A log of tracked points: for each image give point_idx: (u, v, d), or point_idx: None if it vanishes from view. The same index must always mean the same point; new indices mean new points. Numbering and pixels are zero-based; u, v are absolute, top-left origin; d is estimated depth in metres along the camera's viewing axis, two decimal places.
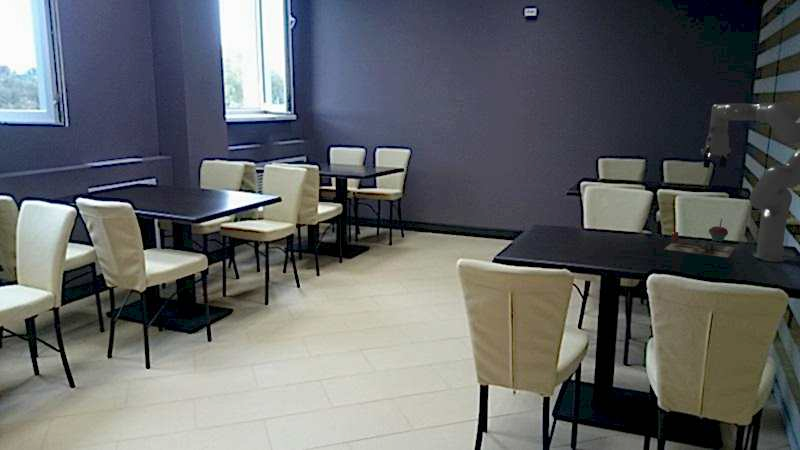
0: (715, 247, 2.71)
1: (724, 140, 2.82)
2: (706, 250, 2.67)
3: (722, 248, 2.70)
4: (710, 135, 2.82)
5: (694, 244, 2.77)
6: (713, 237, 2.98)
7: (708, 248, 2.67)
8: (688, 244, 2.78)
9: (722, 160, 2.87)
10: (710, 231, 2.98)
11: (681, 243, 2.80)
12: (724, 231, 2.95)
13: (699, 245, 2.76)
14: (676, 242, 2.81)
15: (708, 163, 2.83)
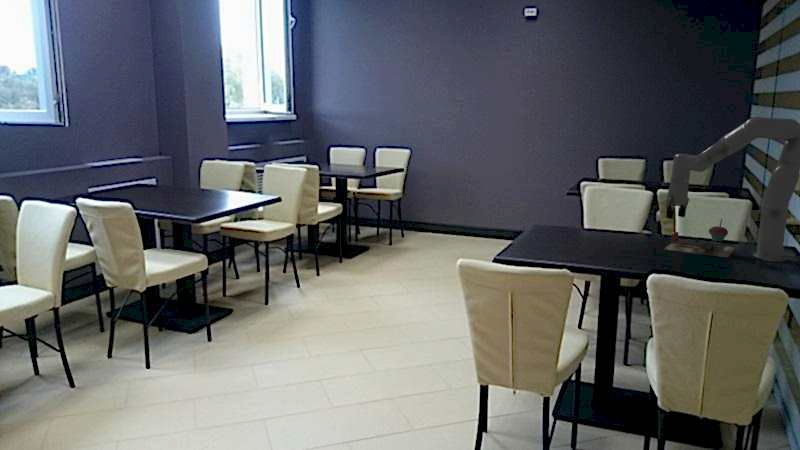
0: (715, 247, 2.71)
1: None
2: (706, 250, 2.67)
3: (722, 248, 2.70)
4: None
5: (694, 244, 2.77)
6: (713, 237, 2.98)
7: (708, 248, 2.67)
8: (688, 244, 2.78)
9: None
10: (710, 231, 2.98)
11: (681, 243, 2.80)
12: (724, 231, 2.95)
13: (699, 245, 2.76)
14: (676, 242, 2.81)
15: None
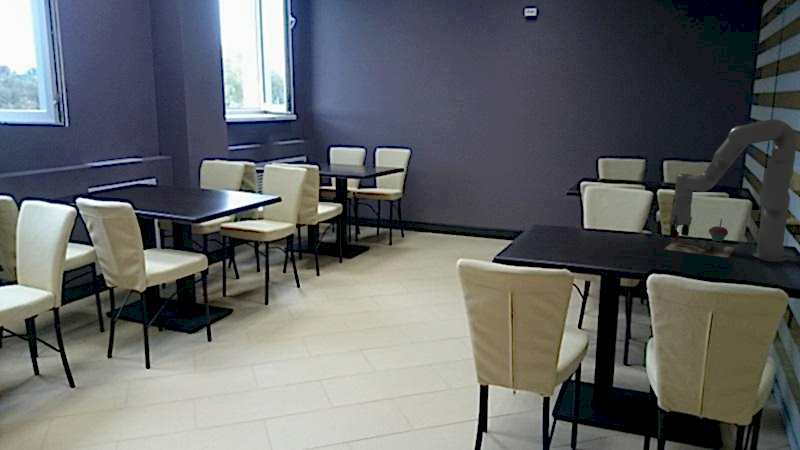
0: (715, 247, 2.71)
1: None
2: (706, 250, 2.67)
3: (721, 248, 2.69)
4: None
5: (694, 244, 2.77)
6: (713, 237, 2.98)
7: (708, 248, 2.67)
8: (688, 244, 2.79)
9: None
10: (710, 231, 2.98)
11: (681, 243, 2.81)
12: (724, 231, 2.95)
13: (699, 245, 2.76)
14: (676, 242, 2.82)
15: None
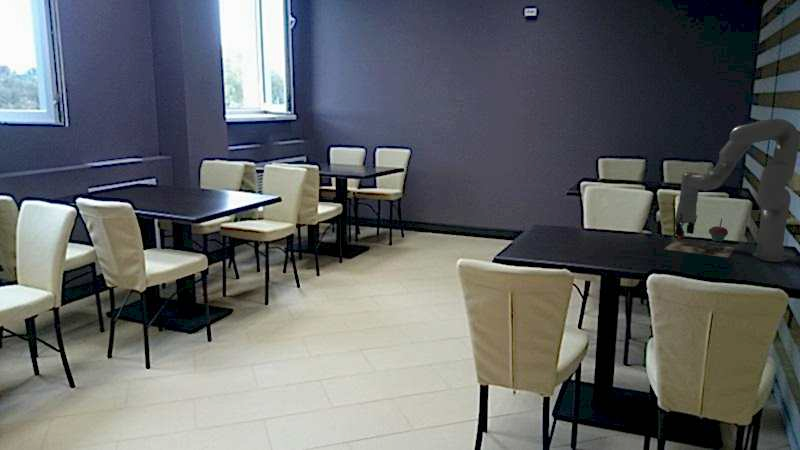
0: (712, 247, 2.71)
1: None
2: (706, 250, 2.67)
3: (717, 249, 2.68)
4: None
5: (695, 243, 2.79)
6: (713, 237, 2.98)
7: (708, 248, 2.67)
8: (690, 243, 2.81)
9: None
10: (710, 231, 2.98)
11: (684, 241, 2.83)
12: (724, 231, 2.95)
13: (699, 244, 2.77)
14: (680, 240, 2.85)
15: None
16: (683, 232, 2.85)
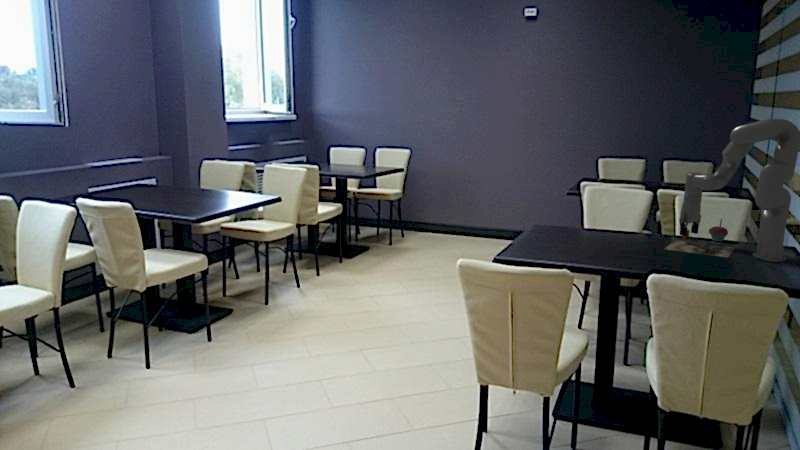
0: None
1: None
2: (706, 250, 2.67)
3: (714, 249, 2.68)
4: None
5: (696, 243, 2.79)
6: (713, 237, 2.98)
7: (708, 248, 2.67)
8: (692, 242, 2.82)
9: None
10: (710, 231, 2.98)
11: (688, 241, 2.85)
12: (724, 231, 2.95)
13: (700, 244, 2.77)
14: (684, 240, 2.87)
15: None
16: (688, 232, 2.86)
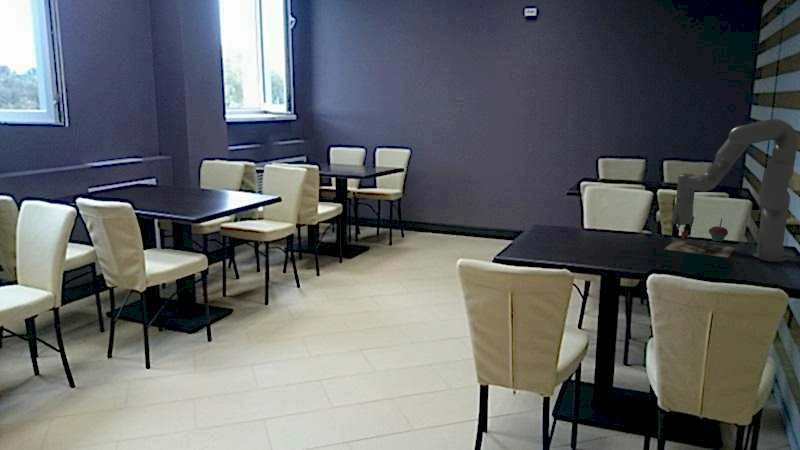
0: None
1: None
2: (706, 250, 2.67)
3: (715, 249, 2.68)
4: None
5: (696, 243, 2.79)
6: (713, 237, 2.98)
7: (708, 248, 2.67)
8: (692, 242, 2.82)
9: None
10: (710, 231, 2.98)
11: (687, 241, 2.84)
12: (724, 231, 2.95)
13: (700, 244, 2.77)
14: (684, 240, 2.86)
15: None
16: (687, 232, 2.86)
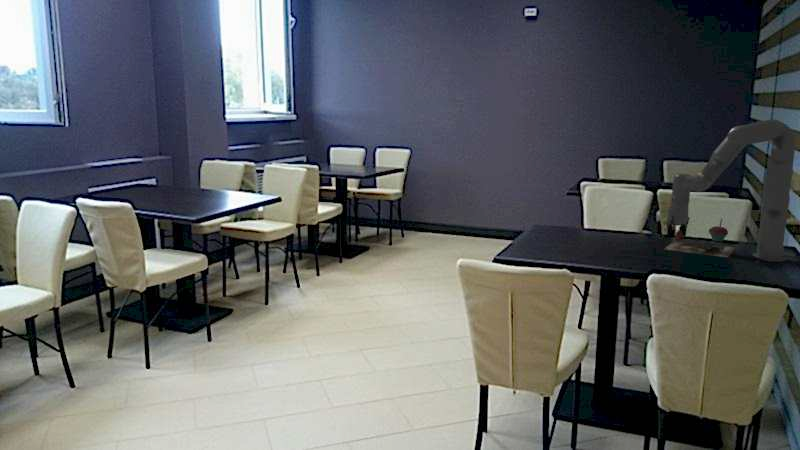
0: (712, 247, 2.71)
1: None
2: (706, 250, 2.67)
3: (719, 248, 2.69)
4: None
5: (695, 243, 2.78)
6: (713, 237, 2.98)
7: (708, 248, 2.67)
8: (689, 243, 2.80)
9: None
10: (710, 231, 2.98)
11: (683, 242, 2.83)
12: (724, 231, 2.95)
13: (699, 245, 2.77)
14: (679, 240, 2.85)
15: None
16: (682, 232, 2.84)
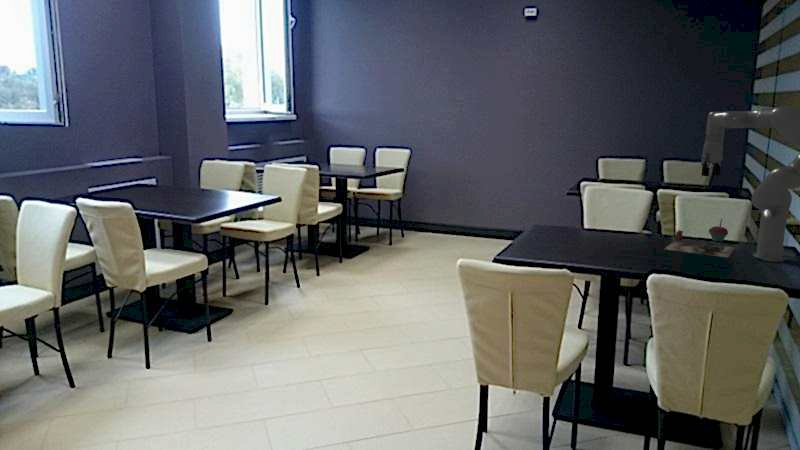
0: (712, 247, 2.71)
1: None
2: (706, 250, 2.67)
3: (719, 248, 2.69)
4: None
5: (695, 243, 2.78)
6: (713, 237, 2.98)
7: (708, 248, 2.67)
8: (689, 243, 2.80)
9: None
10: (710, 231, 2.98)
11: (683, 242, 2.83)
12: (724, 231, 2.95)
13: (699, 245, 2.77)
14: (679, 240, 2.85)
15: None
16: (682, 232, 2.84)
